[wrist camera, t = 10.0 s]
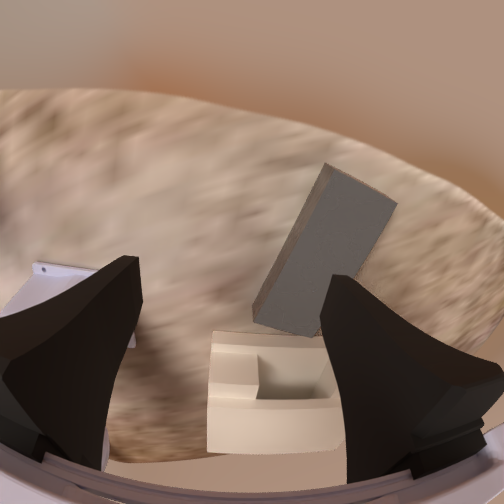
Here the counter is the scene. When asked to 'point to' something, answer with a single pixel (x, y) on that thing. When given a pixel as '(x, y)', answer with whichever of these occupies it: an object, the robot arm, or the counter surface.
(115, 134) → the counter surface
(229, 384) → the slotted box
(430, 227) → the counter surface
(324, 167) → the gray block
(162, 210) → the counter surface
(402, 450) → the robot arm
